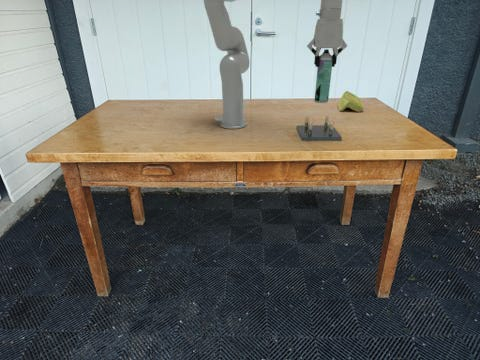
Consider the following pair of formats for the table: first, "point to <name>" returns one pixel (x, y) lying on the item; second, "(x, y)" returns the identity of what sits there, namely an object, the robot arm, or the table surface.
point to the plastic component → (350, 102)
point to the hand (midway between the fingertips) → (324, 66)
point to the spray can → (323, 77)
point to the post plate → (318, 131)
